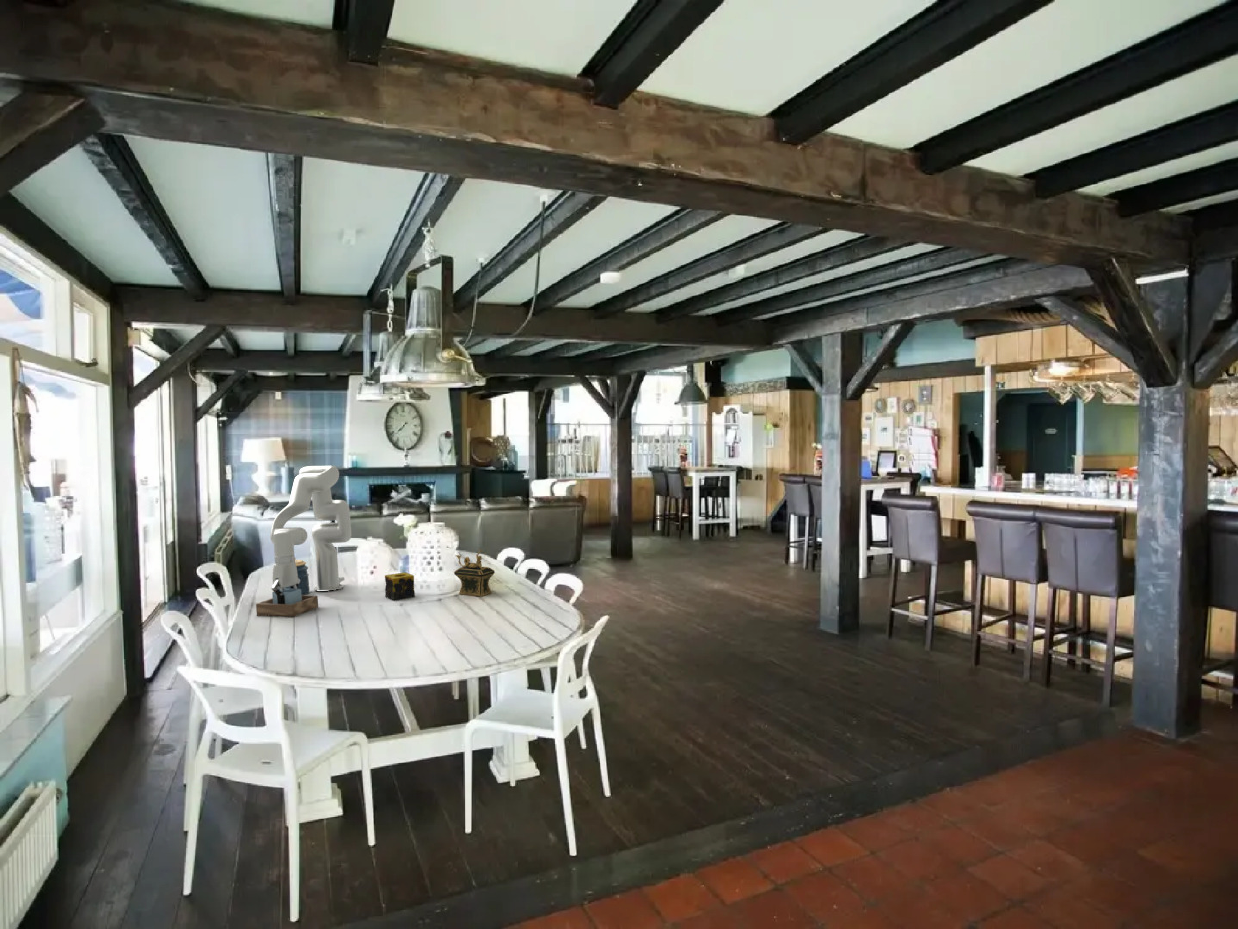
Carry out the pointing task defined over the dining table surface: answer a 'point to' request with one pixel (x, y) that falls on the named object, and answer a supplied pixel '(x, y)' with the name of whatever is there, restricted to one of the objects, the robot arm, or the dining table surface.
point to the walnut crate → (287, 607)
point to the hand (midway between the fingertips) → (287, 602)
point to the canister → (302, 577)
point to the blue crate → (289, 596)
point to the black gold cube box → (399, 586)
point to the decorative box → (474, 577)
